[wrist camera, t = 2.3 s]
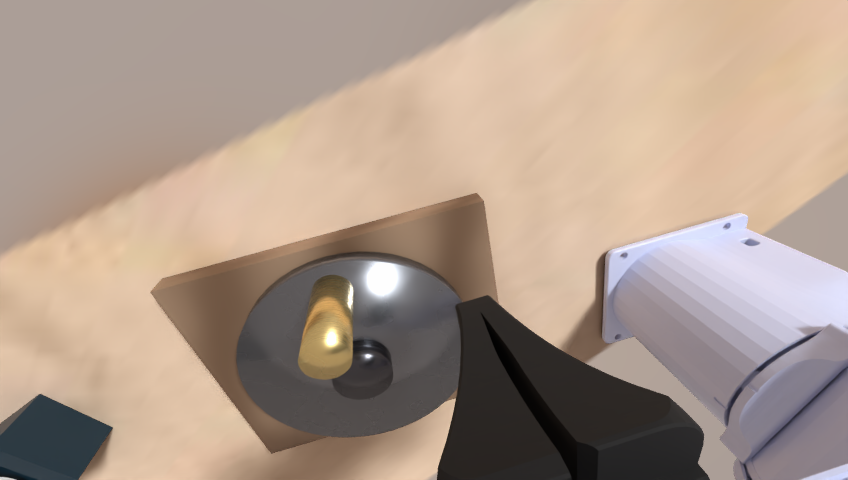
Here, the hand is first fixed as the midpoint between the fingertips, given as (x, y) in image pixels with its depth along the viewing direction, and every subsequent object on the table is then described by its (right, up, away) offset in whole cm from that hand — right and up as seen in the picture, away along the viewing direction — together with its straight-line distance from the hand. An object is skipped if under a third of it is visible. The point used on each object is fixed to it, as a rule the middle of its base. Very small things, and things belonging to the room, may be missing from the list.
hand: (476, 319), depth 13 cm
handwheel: (-6, -3, +7) cm, 10 cm away
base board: (-6, -3, +8) cm, 11 cm away
